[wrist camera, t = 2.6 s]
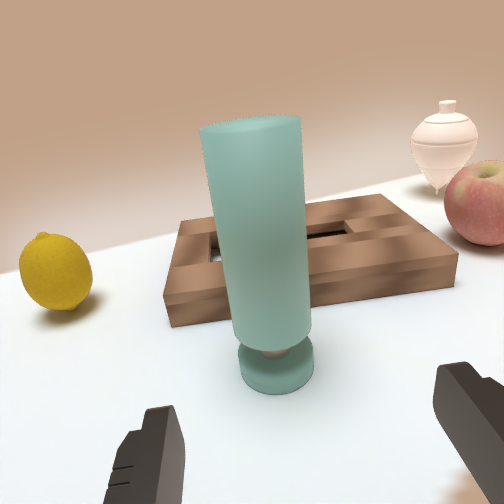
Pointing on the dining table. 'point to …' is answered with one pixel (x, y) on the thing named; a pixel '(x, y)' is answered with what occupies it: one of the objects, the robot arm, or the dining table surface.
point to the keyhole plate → (319, 259)
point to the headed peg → (263, 245)
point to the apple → (477, 202)
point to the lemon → (55, 271)
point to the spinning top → (443, 144)
